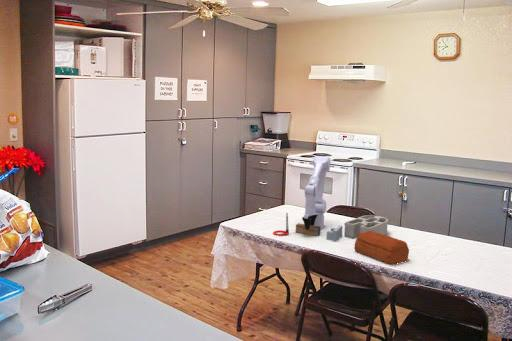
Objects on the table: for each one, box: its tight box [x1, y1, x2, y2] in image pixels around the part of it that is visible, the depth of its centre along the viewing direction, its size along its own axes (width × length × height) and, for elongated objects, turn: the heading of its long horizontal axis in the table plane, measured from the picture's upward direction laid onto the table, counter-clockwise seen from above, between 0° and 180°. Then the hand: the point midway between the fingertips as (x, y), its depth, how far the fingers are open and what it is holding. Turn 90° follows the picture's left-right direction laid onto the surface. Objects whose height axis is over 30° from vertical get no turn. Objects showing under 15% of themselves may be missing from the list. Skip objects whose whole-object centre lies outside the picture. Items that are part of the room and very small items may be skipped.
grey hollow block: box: [343, 214, 389, 239], centre depth 286 cm, size 17×28×9 cm, turn 138°
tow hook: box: [272, 212, 290, 237], centre depth 284 cm, size 8×13×9 cm
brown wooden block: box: [295, 223, 322, 237], centre depth 286 cm, size 4×14×5 cm, turn 64°
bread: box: [354, 231, 410, 265], centre depth 250 cm, size 16×27×11 cm, turn 35°
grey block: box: [326, 225, 343, 242], centre depth 278 cm, size 12×6×6 cm, turn 153°
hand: (309, 227), depth 285 cm, fingers open, 7 cm apart
